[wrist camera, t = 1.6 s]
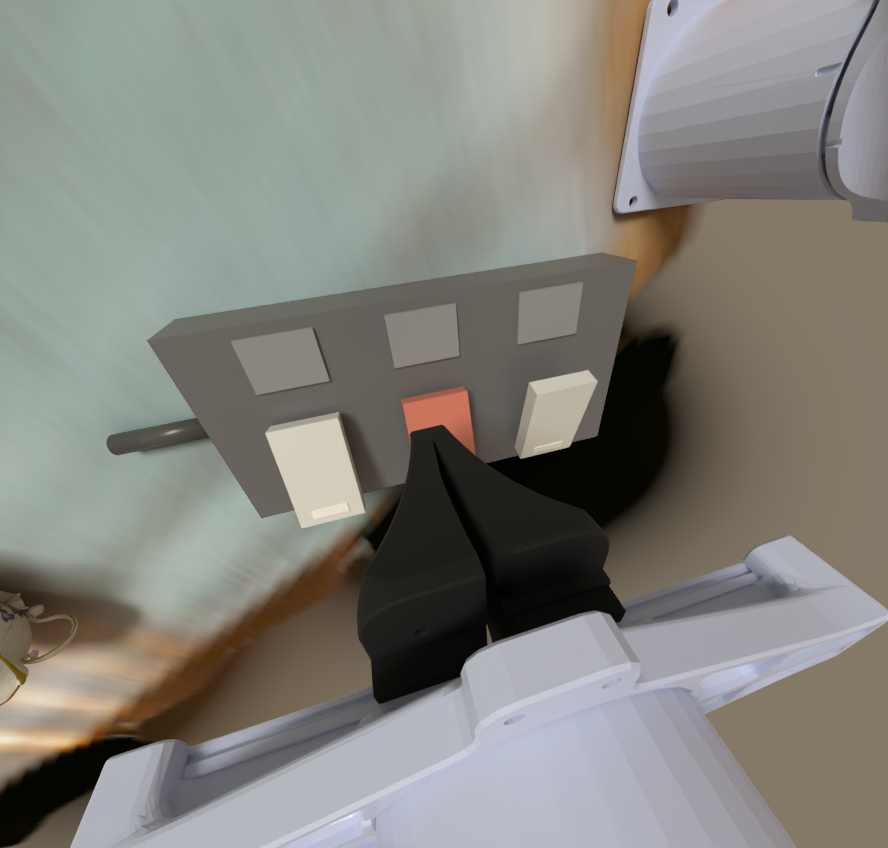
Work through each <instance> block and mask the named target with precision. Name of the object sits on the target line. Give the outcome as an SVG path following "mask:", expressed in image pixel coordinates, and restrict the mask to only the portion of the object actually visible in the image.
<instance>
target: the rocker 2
mask: <svg viewBox="0 0 888 848" xmlns="http://www.w3.org/2000/svg"><path fill="white" fill-rule="evenodd" d="M597 382H598V381H597V380H596V379H595V378H594V376H593V375H592V374H591V373H590V372H589V370H586V371H581V372H576V373H571V374H567V375H562V376H557V377H553V378H548V379H543V380H538V381H534V382H529V385H528V389H527V394H526V398H525V403H524V407H523V412H522V416H521V421H520V426H519V430H518V435H517V439H516V444H515V449H516V451H517V453H518V455H519V457H520V459H522V458H526V457H530V456H534V455H538V454H542V453H547V452H551V451H555V450H559V449H563V448H567V447H570V445H571V442H572V440H573V438H574V435H575V433H576V431H577V429H578V426H579V424H580V422H581V419H582V417H583V415H584V412H585V410H586V408H587V405H588V403H589V401H590V398H591V396H592V394H593V391H594V389H595V387H596V385H597Z"/></svg>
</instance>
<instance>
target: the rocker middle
mask: <svg viewBox="0 0 888 848" xmlns="http://www.w3.org/2000/svg"><path fill="white" fill-rule="evenodd" d="M401 402H402V407H403V412H404V417H405V422H406V426H407V431H408V436H409V441H410V435H409V434H410V433H411V432H412V431H416V430H420V429H425V428H429V427H434V426H438V425H444V426H445V427H446V428H447V429H448V430H449V431H450V432H451V433H452V434H453V435H454V436H455V437H456V438H457V439H458V440H459V441H460V442H461V443H462V444H463V445H464V446H465V447H466V448H467V449H469V450H470V451H471V452H472V453H473V454H474V455H475V447H474V439H473V431H472V423H471V415H470V408H469V400H468V392H467V390H466V389H465V388H464V387H463V386H462V387H457V388H452V389H447V390H443V391H438V392H433V393H428V394H423V395H418V396H414V397H409V398H404V399H401ZM410 446H411V441H410Z"/></svg>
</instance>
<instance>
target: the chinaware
mask: <svg viewBox="0 0 888 848" xmlns="http://www.w3.org/2000/svg"><path fill="white" fill-rule="evenodd" d="M20 595H21V593H16V594H13V593H8V592H3V591H0V706H1V705H2V704H4V703H6V702H7V701H9V700H10V699H11V698H12V697H13V695H14V694H15V693H16V691H17V690H18V688H19V687H20V685H23V684H24V683H25V681H26V678H27V676H28V668H27V667H25V666H24V664H33V663H38V662H41V661H44V660H47V659H49V658H51V657H53V656H55V655H56V654H58V653H59V652H60V651H61V650H63V649H64V648H65V647H66V646H67V645H68V644H69V643H70V642H71V641H72V639H73V638H74V636H75V634H76V632H77V630H78V621H77V619H76V618H75V617H74V616H73V615H71V614H67V613H61V614H56V615H53V616H50V617H46V618H40V619H38V618H35V616H38V615H40V614H41V613H42V612H43V611H44V605H35V606H32V607H31V608H30V609H29V607H27V606H25V605H24V602H23V600H22V599H21V598H20V597H19V596H20ZM24 609H28V610H27V612H26V614H25V615H26V616H27V617H26V616H25V615H24V614H23V613H22V612H21V611H19V610H24ZM60 618H65V619H68V620H70V621H71V622H72V630H71V633H70V634H69V636H68V637H67V638H66V639H65V640H64V641H63V642H62V643H61V644H60V645H59V646H57V647H56V648H55V649H53V650H52V651H50V652H48V653H47V654H45V655H43V656H41V657H38V653H39V651H38V650H33V651H32V652H31V653H30V654H28V652H29V649H30V646H31V641H32V632H31V626H30V623H29V621H31V622H35V623H41V622H46V621H50V620H54V619H60ZM29 657H30V658H31V659H29V660H26V659H27V658H29ZM37 657H38V658H37Z"/></svg>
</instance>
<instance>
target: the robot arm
mask: <svg viewBox="0 0 888 848" xmlns="http://www.w3.org/2000/svg"><path fill="white" fill-rule="evenodd" d="M669 3H670V5H671V13H670V16H668V14H667V7H668V5H669ZM631 198H633V202H632V204H631V205H630V206H629V202H630V199H631ZM724 199H799V200H800V199H801V200H802V199H803V200H848V201H850V203H851V205H852V209H853V215H852V219H853V221H873V222H888V0H651V1H650V3H649V5H648V9H647V12H646V18H645V24H644V29H643V35H642V41H641V47H640V53H639V58H638V64H637V70H636V76H635V81H634V87H633V93H632V99H631V104H630V110H629V116H628V122H627V128H626V133H625V139H624V145H623V151H622V156H621V162H620V168H619V174H618V180H617V185H616V191H615V197H614V203H613V209H614V211H615V212H616V213H630V212H637V211H645V210H652V209H659V208H666V207H673V206H681V205H688V204H695V203H702V202H709V201H717V200H724ZM409 435H410V441H411V450H410V460H409V467H408V472H407V477H406V481H405V486H404V489H403V493H402V496H401V499H400V502H399V505H398V508H397V510H396V513H395V515H394V518H393V520H392V523H391V525H390V527H389V529H388V531H387V533H386V535H385V537H384V539H383V541H382V543H381V545H380V547H379V549H378V550H377V552H376V554H375V555H374V557H373V559H372V560H371V562H370V564H369V565H368V567H367V569H366V570H365V572H364V574H363V579H362V583H361V588H360V593H359V599H358V610H357V623H358V636H359V640H360V642H361V644H362V646H363V647H364V649H365V651H366V652H367V654H368V656H369V657H370V659H371V666H372V682H373V686H371V687H368V688H365V689H362V690H359V691H356V692H353V693H350V694H347V695H344V696H341V697H338V698H335V699H332V700H329V701H326V702H323V703H320V704H317V705H314V706H311V707H308V708H305V709H302V710H300V711H296V712H293V713H290V714H288V715H284V716H281V717H278V718H275V719H273V720H269V721H266V722H263V723H260V724H257V725H255V726H252V727H248V728H245V729H242V730H239V731H236V732H234V733H230V734H227V735H225V736H222V737H219V738H215V739H213V740H209V741H207V742H204V743H201V744H198V745H195V746H192V747H189V746H188V745H187V744H185V743H184V742H182V741H179V740H164V741H159V742H156V743H152V744H149V745H146V746H143V747H140V748H137V749H134V750H131V751H128V752H125V753H122V754H119V755H116V756H113V757H111V758H110V759H109V760H107V761H106V763H105V765H104V768H103V770H102V772H101V775H100V777H99V780H98V782H97V784H96V787H95V789H94V792H93V794H92V797H91V799H90V801H89V804H88V806H87V808H86V811H85V813H84V816H83V818H82V821H81V823H80V825H79V828H78V830H77V833H76V835H75V837H74V840H73V842H72V845H71V847H70V848H797V847H796V846H795V844H794V843H793V841H792V840H791V838H790V837H789V836H788V834H787V833H786V831H785V830H784V828H783V827H782V825H781V824H780V823H779V821H778V820H777V818H776V817H775V815H774V814H773V812H772V811H771V810H770V808H769V807H768V805H767V804H766V802H765V801H764V800H763V798H762V797H761V795H760V794H759V792H758V791H757V790H756V788H755V787H754V785H753V784H752V782H751V781H750V779H749V778H748V777H747V775H746V774H745V772H744V771H743V770H742V768H741V767H740V765H739V764H738V762H737V761H736V759H735V758H734V756H733V755H732V754H731V752H730V751H729V749H728V748H727V746H726V745H725V744H724V742H723V741H722V739H721V738H720V736H719V735H718V734H717V732H716V731H715V729H714V728H713V726H712V725H711V724H710V722H709V721H708V719H707V718H706V716H705V715H704V714H706V713H708V712H710V711H713V710H715V709H717V708H719V707H721V706H724V705H725V704H728V703H730V702H732V701H734V700H737V699H738V698H741V697H743V696H745V695H747V694H749V693H752V692H754V691H756V690H758V689H760V688H763V687H765V686H767V685H769V684H772V683H774V682H776V681H778V680H780V679H782V678H784V677H787V676H789V675H792V674H794V673H796V672H799V671H801V670H803V669H806V668H808V667H810V666H813V665H815V664H818V663H820V662H823V661H825V660H827V659H829V658H832V657H835V656H836V655H838V654H839V653H841V652H842V651H844V650H845V649H847V648H848V647H850V646H851V645H853V644H854V643H856V642H857V641H859V640H860V639H862V638H863V637H865V636H866V635H868V634H869V633H871V632H872V631H874V630H875V629H877V628H878V627H880V626H881V625H883V624H884V623H886V622H887V621H888V610H887V609H886V608H885V607H883V606H882V605H881V604H880V603H878V602H877V601H876V600H874V599H873V598H872V597H870V596H869V595H868V594H866V593H865V592H864V591H862V590H861V589H860V588H858V587H857V586H856V585H855V584H853V583H852V582H851V581H849V580H848V579H847V578H845V577H844V576H843V575H841V574H840V573H839V572H837V571H836V570H835V569H834V568H832V567H831V566H830V565H828V564H827V563H826V562H824V561H823V560H822V559H820V558H819V557H818V556H816V555H815V554H814V553H812V552H811V551H810V550H808V549H807V548H806V547H805V546H803V545H802V544H801V543H799V542H798V541H797V540H795V539H794V538H793V537H792V536H783V537H780V538H777V539H774V540H771V541H768V542H765V543H762V544H759V545H757V546H755V547H754V548H752V549H751V550H750V551H749V552H748V553H747V554H746V555H745V557H744V559H743V562H741V563H739V564H736V565H732V566H729V567H727V568H723V569H720V570H717V571H714V572H712V573H709V574H706V575H702V576H699V577H697V578H693V579H690V580H688V581H685V582H682V583H679V584H676V585H673V586H670V587H667V588H664V589H661V590H658V591H655V592H652V593H649V594H646V595H643V596H640V597H637V598H634V599H631V600H628V601H625V602H622V603H620V601H619V600H618V598H617V597H616V595H615V594H614V593H613V591H612V590H611V588H610V587H609V585H610V579H609V578H608V576H607V575H606V573H605V572H604V570H603V566H604V563H605V560H606V557H607V554H608V551H609V544H610V542H609V540H608V537H607V536H606V534H605V533H604V532H603V531H602V529H601V528H600V527H599V526H598V524H597V523H596V522H595V521H594V520H593V519H592V518H591V517H590V516H589V515H588V514H587V513H586V512H585V511H584V510H583V509H580V508H577V507H574V506H571V505H568V504H565V503H561V502H558V501H556V500H553V499H550V498H548V497H546V496H543V495H541V494H538V493H536V492H534V491H532V490H530V489H528V488H526V487H524V486H522V485H520V484H518V483H516V482H514V481H512V480H511V479H509V478H507V477H505V476H504V475H502V474H501V473H499V472H497V471H496V470H494V469H493V468H492V467H490V466H489V465H487V464H486V463H485V462H483V461H482V460H481V459H479V458H478V457H477V456H476V455H474V454H473V453H472V452H471V451H470V450H469V449H467V448H466V447H465V446H464V445H463V444H462V443H461V442H460V441H459V440H458V439H457V438H456V437H455V436H454V435H453V434H452V433H451V432H450V431H449V430H448V429H447V428H446V427H445V426H444V425H438V426H434V427H429V428H425V429H420V430H416V431H412V432H411V433H410V434H409ZM486 624H487V625H488V629H489V632H490V635H491V639H492V644H490V645H487V631H486Z"/></svg>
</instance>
